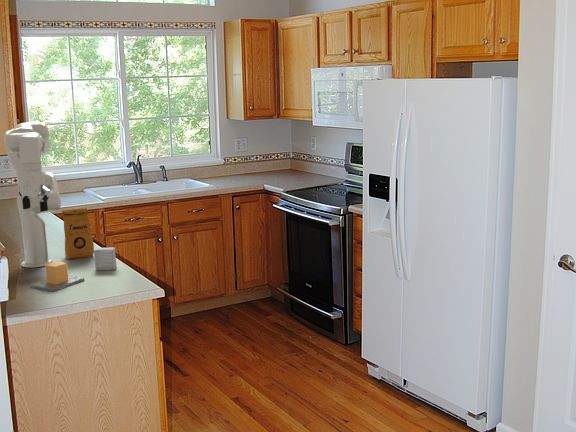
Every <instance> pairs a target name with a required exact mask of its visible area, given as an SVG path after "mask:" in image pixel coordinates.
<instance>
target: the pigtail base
mask: <svg viewBox="0 0 576 432" xmlns="http://www.w3.org/2000/svg"><path fill="white" fill-rule="evenodd" d="M84 281H85V278H84V277H79V276H73V275H69V274H68V281H65V282H63V283H60V284H52V283H47V279H45V280H42V281H39V282H36V283H33V284H30V285H29V286H30V288H31V289H36V290H41V291H47V292H55V291H58V290H62V289H64V288H67V287H70V286H73V285H76V284H79V283H81V282H84Z"/></svg>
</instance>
